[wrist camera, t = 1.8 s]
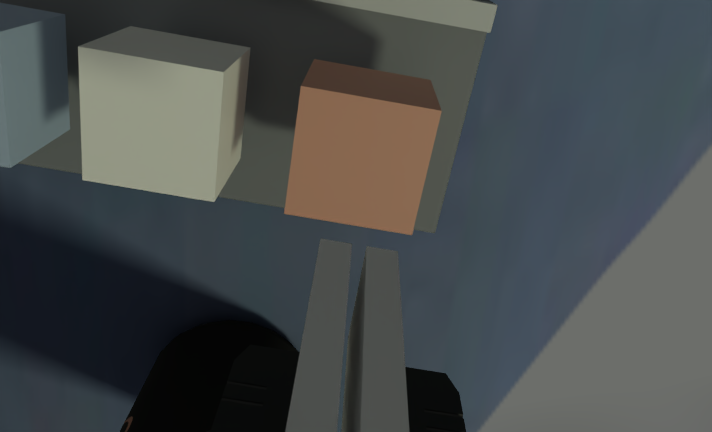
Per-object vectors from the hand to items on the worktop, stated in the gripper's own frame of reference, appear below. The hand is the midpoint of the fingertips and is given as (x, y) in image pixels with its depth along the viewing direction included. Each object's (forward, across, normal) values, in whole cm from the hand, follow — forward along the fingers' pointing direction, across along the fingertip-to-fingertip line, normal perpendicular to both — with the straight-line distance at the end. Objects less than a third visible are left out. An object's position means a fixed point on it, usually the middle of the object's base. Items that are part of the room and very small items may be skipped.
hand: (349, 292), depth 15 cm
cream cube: (+14, -8, 0) cm, 16 cm away
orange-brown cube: (+14, 0, 0) cm, 14 cm away
